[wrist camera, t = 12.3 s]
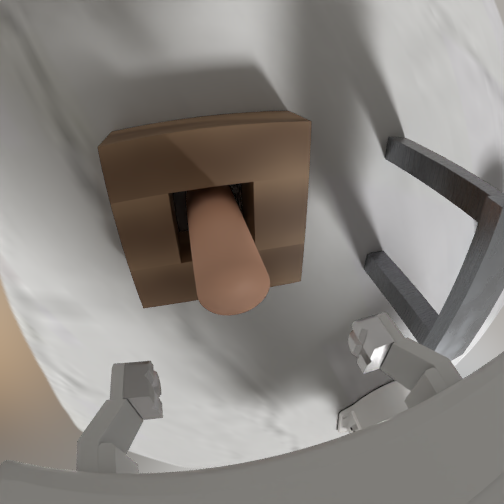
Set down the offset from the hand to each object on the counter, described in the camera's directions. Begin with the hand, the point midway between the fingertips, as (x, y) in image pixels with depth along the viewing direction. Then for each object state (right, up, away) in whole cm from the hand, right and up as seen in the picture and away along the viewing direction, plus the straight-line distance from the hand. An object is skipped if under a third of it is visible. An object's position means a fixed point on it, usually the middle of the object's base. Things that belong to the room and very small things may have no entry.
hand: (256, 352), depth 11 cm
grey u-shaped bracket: (+12, +8, +15) cm, 21 cm away
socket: (-3, +8, +10) cm, 13 cm away
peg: (-3, +8, +10) cm, 13 cm away
